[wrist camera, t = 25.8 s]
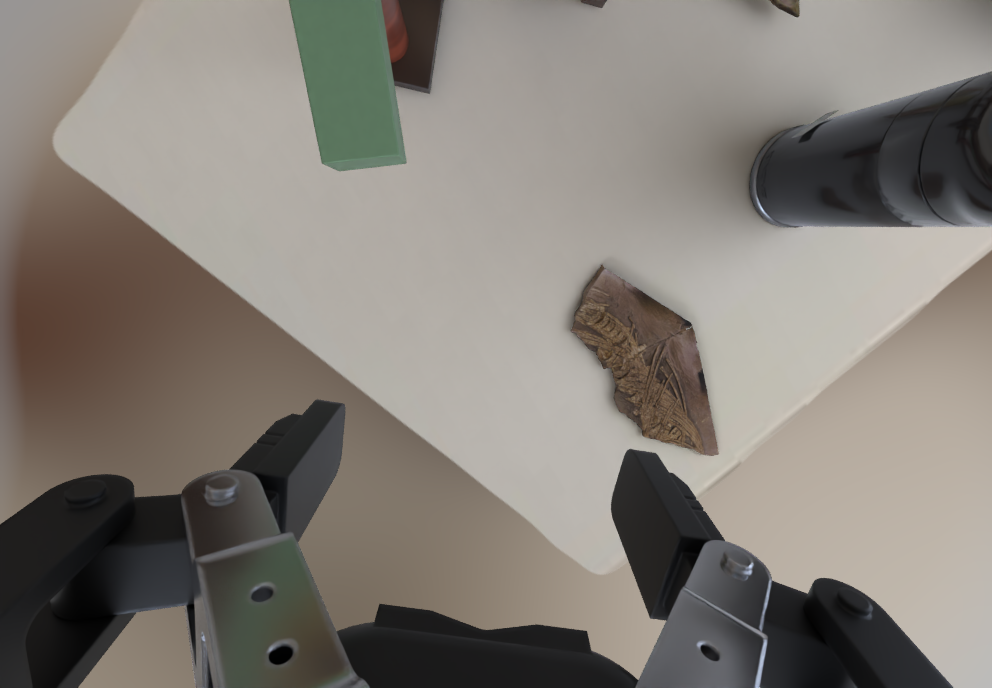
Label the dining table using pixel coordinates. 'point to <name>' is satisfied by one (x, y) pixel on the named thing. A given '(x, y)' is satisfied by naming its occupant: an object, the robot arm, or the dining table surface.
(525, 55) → the dining table surface
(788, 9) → the ceramic sculpture
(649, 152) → the dining table surface
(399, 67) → the rods
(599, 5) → the stand
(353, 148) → the bar
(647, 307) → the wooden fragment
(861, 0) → the dining table surface
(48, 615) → the robot arm
